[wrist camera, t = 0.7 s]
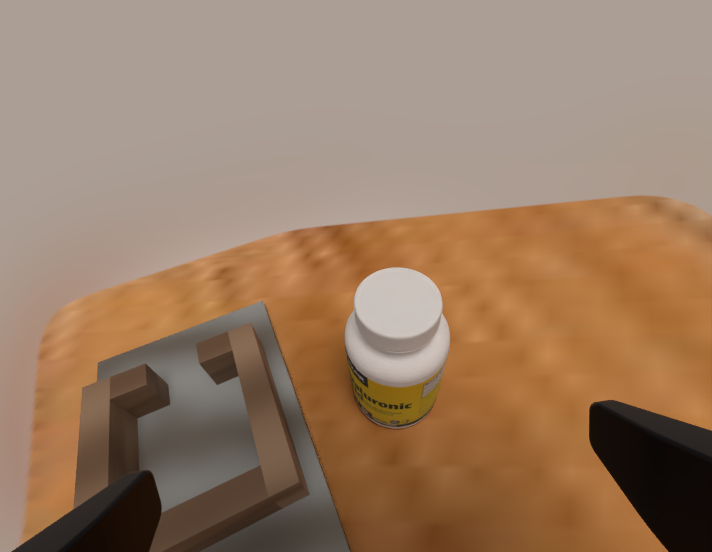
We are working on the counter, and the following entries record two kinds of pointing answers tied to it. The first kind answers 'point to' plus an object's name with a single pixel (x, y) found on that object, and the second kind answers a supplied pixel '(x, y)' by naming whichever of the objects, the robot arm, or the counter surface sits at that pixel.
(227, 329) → the pocket
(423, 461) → the counter surface
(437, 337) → the supplement bottle
